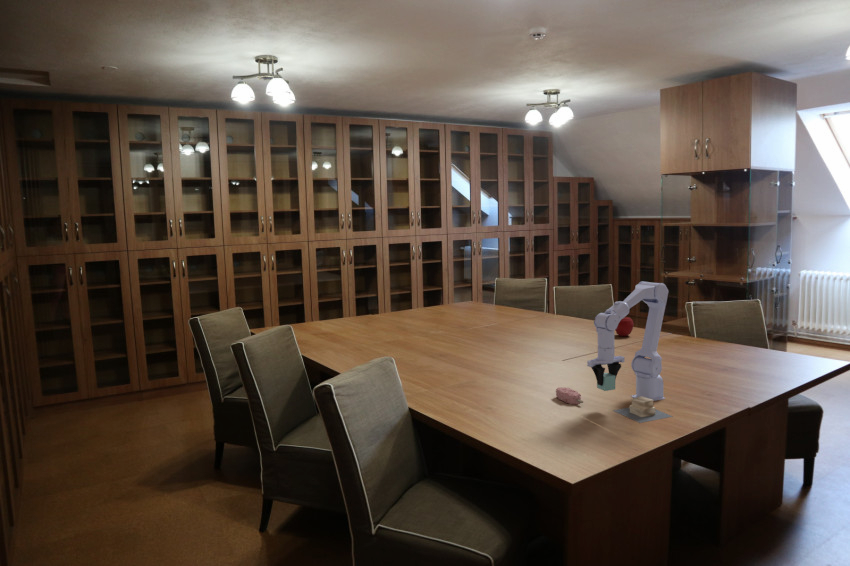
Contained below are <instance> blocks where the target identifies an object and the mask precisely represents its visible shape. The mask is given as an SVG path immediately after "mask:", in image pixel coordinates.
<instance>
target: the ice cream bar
mask: <svg viewBox="0 0 850 566" xmlns="http://www.w3.org/2000/svg"><path fill="white" fill-rule="evenodd" d="M555 396H556V398H557V399H558V400H559V401H561V402H564V403H566V404H569V405H579V404H583V403H584V401H583V400H581V399H582V395H581V393H579V392H578V391H577V390H575V389H572V388H570V387H557V388H556V389H555Z"/></svg>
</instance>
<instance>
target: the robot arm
mask: <svg viewBox="0 0 850 566" xmlns="http://www.w3.org/2000/svg"><path fill="white" fill-rule="evenodd" d="M669 291H670V290H669V289H668V287H667V285H666V284H665V283H664V282H649V281H640V282H638V284H636V285H635V288H634V290H633V291H631V293H630V294H629V295H628V296H626V298H624V300H623V301H621V300H619V301H615V302H614V303H613V305H611V306H610V307H609V308H608V309H605V311H604V312H600V313H597V314H596V316H595V317H594V320H593V325H594V327H595V332H596V334H597V358H593V359H590V360H587V362H586V363H587V364H586V365H587V367H588V368H591V369H592V371H593V373H594V375H595V379H596V384H597V383H598V385H600V386H603V376H604V373H605V370H606V367H607V369H608V373H610V374H612V375H615V381H616V380H617V379H616V378H617V377H618V376H617V375H618V374H619V371H620V369H621V368H622V364H621V363H623V364H624V363H625V357H624V356H622V355H618V356H615V329H616V328H617V326H618V324H619V322H620V320H621V319H623V318H624V317H627V315H629V314H630V309H631V308H632V307H634V306H635V305H637V304H638V303H640V302H641V301H643V303H645V304H647V306H648V315H647V319H646V323H645V329H644V333H643V339H642V346H641V348H640V349H639V350H637V351H636V352H635V353H634V356H633V358H632V360H631V365H630V366H631V367H630V368H631V370H632V371H633V372H634V375H635V391H636V392H635V394H634V395H630V397H631V398H632V399H634V398H637V397H641V396H642V397H645V398H649V399H652V400H653V402H654V401H655V402H656V401H661V400H665V399H666V397H664V385H665V384H664V379H663V377H662V376H661V373H662V369H663V365H662V361H663V358H662V356H661V355H660V354H659V353H658V351H657V350H658V346H659V341H660V336H661V331H662V325H663V320H664V315H665V310H666V306H667V302H668V295H669ZM604 365H607V366H606V367H603V366H604Z"/></svg>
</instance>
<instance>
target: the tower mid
mask: <svg viewBox="0 0 850 566" xmlns="http://www.w3.org/2000/svg"><path fill="white" fill-rule="evenodd" d="M631 405H632V406H633V407H636V408H640V409H643V410H644V409H648V408H651V407H654V401H653V400H652V399H649V398H645V397H642V396H641V397H637V398H631Z"/></svg>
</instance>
